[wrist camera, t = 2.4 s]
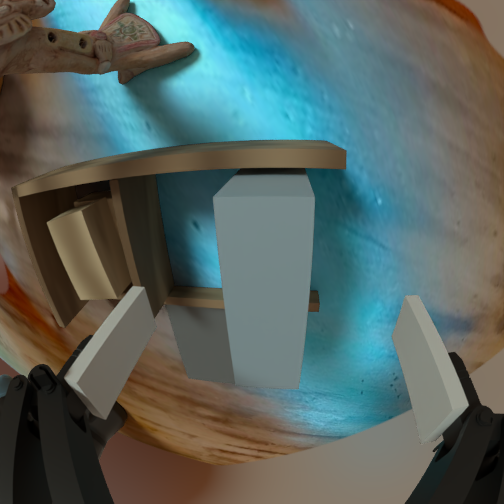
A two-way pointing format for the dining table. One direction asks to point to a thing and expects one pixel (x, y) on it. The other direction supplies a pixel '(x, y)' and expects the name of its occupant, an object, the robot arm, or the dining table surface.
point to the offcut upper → (91, 250)
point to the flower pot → (0, 81)
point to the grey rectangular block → (266, 272)
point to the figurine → (81, 43)
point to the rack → (145, 213)
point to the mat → (203, 342)
